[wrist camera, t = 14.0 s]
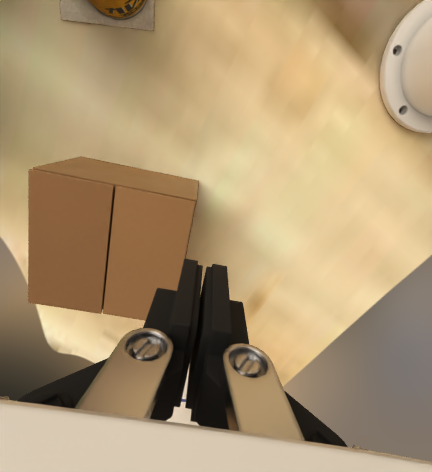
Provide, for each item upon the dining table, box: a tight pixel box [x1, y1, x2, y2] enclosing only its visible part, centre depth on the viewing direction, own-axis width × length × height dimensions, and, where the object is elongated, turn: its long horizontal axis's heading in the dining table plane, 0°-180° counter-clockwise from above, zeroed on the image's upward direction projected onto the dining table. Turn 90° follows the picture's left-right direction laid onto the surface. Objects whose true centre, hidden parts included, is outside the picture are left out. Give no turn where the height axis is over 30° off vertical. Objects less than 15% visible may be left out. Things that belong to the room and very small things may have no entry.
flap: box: [103, 186, 195, 320], centre depth 25 cm, size 6×12×1 cm, turn 168°
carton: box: [28, 157, 199, 314], centre depth 30 cm, size 13×12×10 cm
